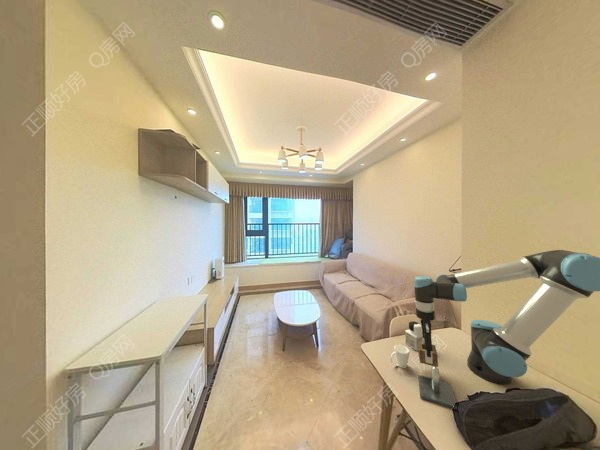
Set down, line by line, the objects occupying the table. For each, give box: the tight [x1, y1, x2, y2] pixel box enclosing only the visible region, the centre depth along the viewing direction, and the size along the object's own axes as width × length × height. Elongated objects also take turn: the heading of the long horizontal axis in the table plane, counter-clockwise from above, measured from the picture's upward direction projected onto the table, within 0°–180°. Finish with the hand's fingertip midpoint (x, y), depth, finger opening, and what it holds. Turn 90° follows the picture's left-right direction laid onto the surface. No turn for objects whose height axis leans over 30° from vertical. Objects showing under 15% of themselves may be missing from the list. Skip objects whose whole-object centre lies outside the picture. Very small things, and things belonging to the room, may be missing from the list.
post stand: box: [417, 366, 457, 410], centre depth 80 cm, size 12×12×10 cm
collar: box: [417, 342, 439, 368], centre depth 92 cm, size 7×7×6 cm
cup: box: [389, 344, 410, 369], centre depth 96 cm, size 7×10×8 cm
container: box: [404, 320, 424, 352], centre depth 111 cm, size 8×8×13 cm
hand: (427, 357), depth 92 cm, fingers closed on collar, 7 cm apart
